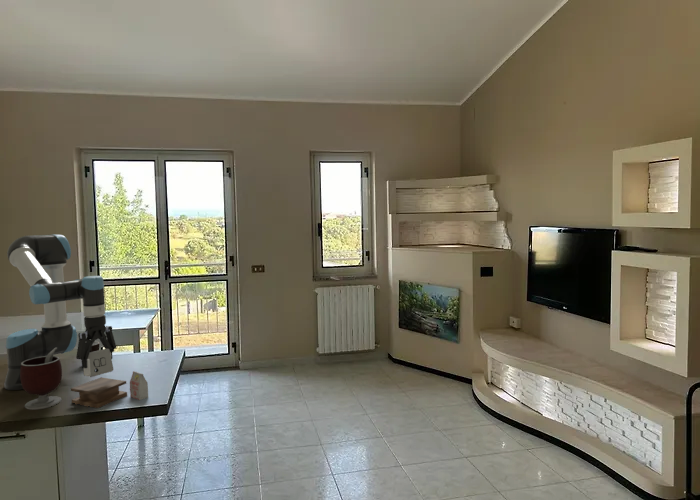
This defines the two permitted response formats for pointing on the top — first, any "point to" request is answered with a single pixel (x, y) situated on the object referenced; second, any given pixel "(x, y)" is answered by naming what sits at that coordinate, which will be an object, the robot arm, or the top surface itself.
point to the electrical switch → (100, 362)
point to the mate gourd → (41, 380)
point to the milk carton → (138, 386)
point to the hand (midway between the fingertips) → (98, 371)
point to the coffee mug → (95, 347)
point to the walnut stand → (99, 392)
